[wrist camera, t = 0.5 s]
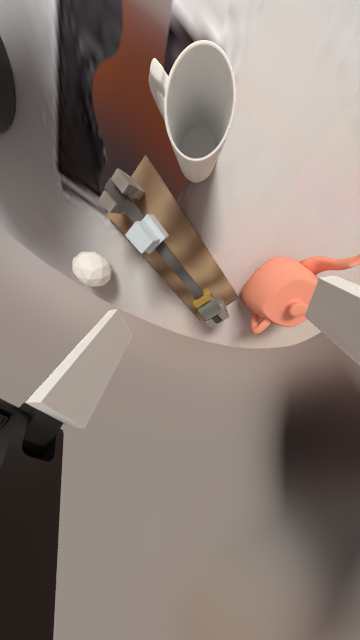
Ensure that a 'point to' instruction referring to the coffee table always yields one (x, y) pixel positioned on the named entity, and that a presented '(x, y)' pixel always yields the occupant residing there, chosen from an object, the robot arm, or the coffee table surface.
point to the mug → (196, 105)
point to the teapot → (286, 289)
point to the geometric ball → (91, 269)
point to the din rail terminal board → (170, 241)
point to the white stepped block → (147, 234)
